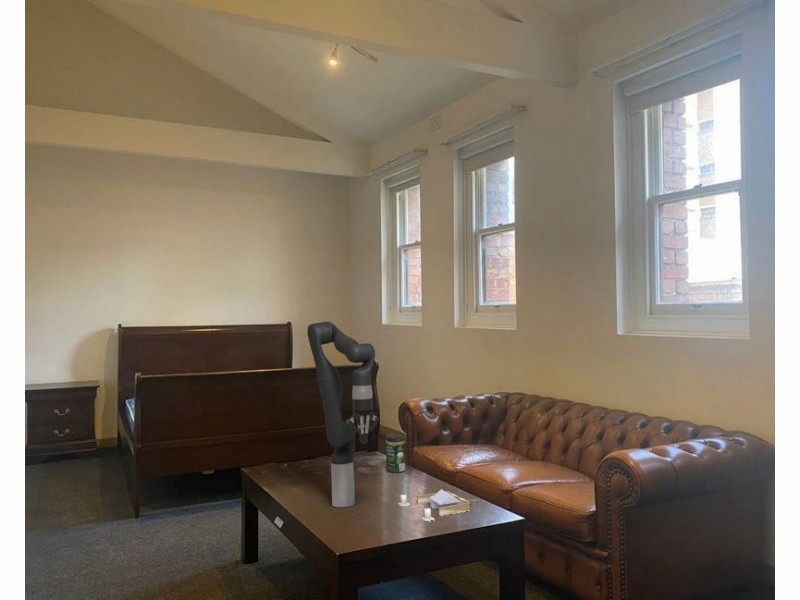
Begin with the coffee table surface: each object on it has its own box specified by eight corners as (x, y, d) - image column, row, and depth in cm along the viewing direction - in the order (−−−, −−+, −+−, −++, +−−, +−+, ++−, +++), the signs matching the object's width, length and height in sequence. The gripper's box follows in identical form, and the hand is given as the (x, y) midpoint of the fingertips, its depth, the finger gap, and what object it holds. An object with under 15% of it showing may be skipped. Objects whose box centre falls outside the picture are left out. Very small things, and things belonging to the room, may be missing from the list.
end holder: (416, 503, 250) (416, 495, 250) (447, 498, 256) (447, 490, 256) (439, 516, 233) (439, 508, 233) (472, 510, 238) (471, 502, 239)
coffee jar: (383, 470, 306) (382, 433, 306) (396, 468, 310) (395, 431, 311) (394, 474, 298) (393, 435, 298) (408, 471, 302) (406, 433, 303)
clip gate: (398, 504, 249) (397, 494, 250) (406, 503, 251) (405, 493, 251) (425, 521, 227) (425, 510, 227) (434, 520, 229) (434, 509, 229)
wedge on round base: (461, 510, 240) (447, 501, 252) (460, 492, 240) (446, 484, 252) (440, 513, 236) (426, 504, 248) (439, 496, 237) (426, 487, 249)
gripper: (374, 394, 237) (376, 440, 236) (342, 397, 231) (343, 443, 231) (382, 396, 230) (384, 443, 229) (349, 399, 224) (350, 447, 224)
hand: (363, 443), depth 230 cm, fingers closed
